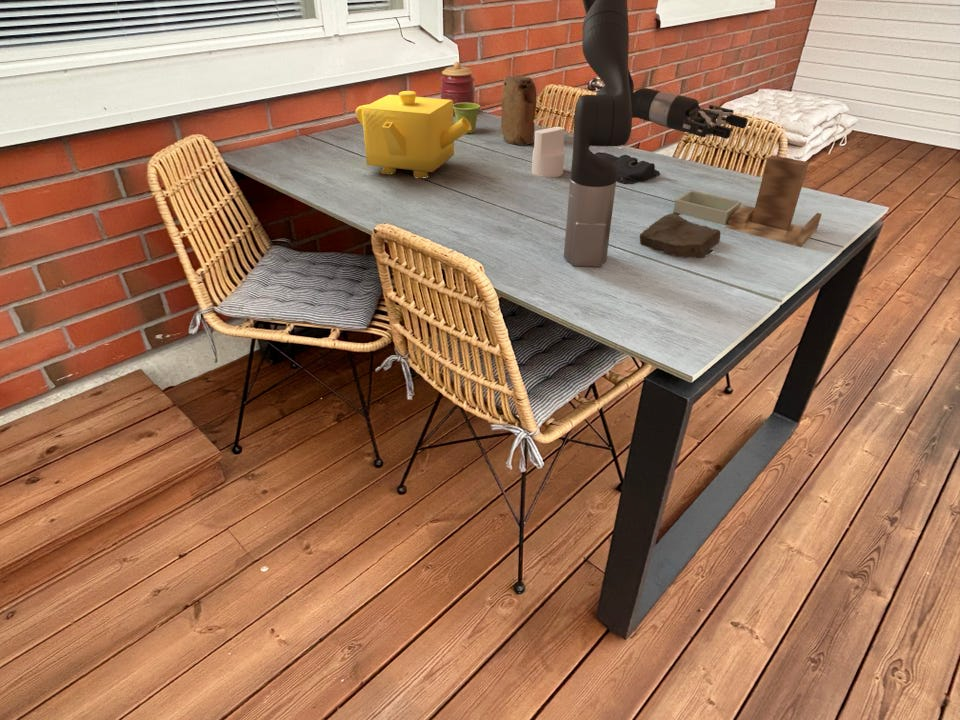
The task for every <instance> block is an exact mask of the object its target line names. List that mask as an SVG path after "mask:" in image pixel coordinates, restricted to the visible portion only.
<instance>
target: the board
mask: <svg viewBox="0 0 960 720" xmlns="http://www.w3.org/2000/svg"><path fill="white" fill-rule="evenodd" d="M809 164H810V162H809V161H805V160H800V159H796V158H795V159H793V158H789V157H783V156H778V155H770V156H769V157H768V158H767V159H766V162H765V165H764V166H765V167H764V171H763V174H762V179H761V182H760V187H759V189H758V190H759V191H758V195H757V198H756V201H755V205H754V208H755V209H754V213H753V217H752V221H751V222H753V223H757V224H761V225H765V226H769V227H773V228H777V229H782V230H786V231H789V229H790V225H791V224H792V223H793V219H794V218H793V217H794V215H795V211H796V208H797V205H798V202H799V201H798V200H799V198H800V194H801V192H802V187H803V184H804V180H805V177H806V174H807V171H808V167H809Z"/></svg>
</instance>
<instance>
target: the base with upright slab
mask: <svg viewBox="0 0 960 720" xmlns="http://www.w3.org/2000/svg"><path fill="white" fill-rule="evenodd" d="M565 132H566V129H565V128H564V127H561V126H555V127H554V126H553V127H548V128H543V129H538V130H534V145H533V147H534V148H533V150H532V160H531V161H532V163H531V164H532V165H531V173H532V174H533V175H534V176H536V175H537V177H540V176H541V178H556V177H557V178H558V177H560V176H562V175H563V174H564V165H565V164H564V163H565V162H564V161H565V150H564V146H565V145H564V144H565Z"/></svg>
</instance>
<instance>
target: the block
mask: <svg viewBox="0 0 960 720" xmlns="http://www.w3.org/2000/svg"><path fill="white" fill-rule="evenodd" d="M501 90H502V91H501V111H500V112H501V113H500V114H501V115H500V117H501V118H500V120H501V122H500V125H501V126H500V129H501V130H500V131H501V133H502V135H503V136H502V139H503V141H504V142H505V143H507V144H511V145H518V146H527V145H530V144H532V143H533V141H534V140H535V121H534V120H535V118H536V110H537V88H536V85H535V83H534V81H533V79H532V77H529V76H526V75H525V76H524V75H514V76H511V75H509V76H505V77H504V78H503V82H502V89H501Z"/></svg>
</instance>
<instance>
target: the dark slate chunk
mask: <svg viewBox="0 0 960 720" xmlns="http://www.w3.org/2000/svg"><path fill="white" fill-rule="evenodd" d="M594 154H595V155H596V156H598V157H600V158H602V159H605V160H607V161H610V162H612V163H613V164H614V165H615V166H616V167H617V180H616V183H619V184H623V185H635V184H637V183H642V182H643V183H644V182H647V181H650V180H653V179H654V178H656V177H658V176H659V175H660V174H661V173H660V171H659V170H657V169H655V168H656V167H655V166H656V165H655V163H654V162H652V163H651V162H648V161H645V160H640V161H639V159H638V158H636V157H631V155H628V154H622V155H620V156H619V157H618V156H615V155H613V154H611V153H607V152H601V151H597V152H595V153H594Z"/></svg>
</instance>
